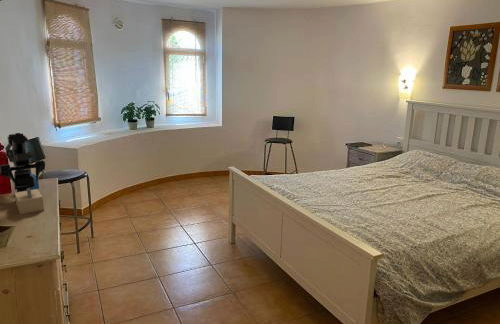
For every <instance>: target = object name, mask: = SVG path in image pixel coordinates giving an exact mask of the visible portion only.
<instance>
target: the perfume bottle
mask: <svg viewBox="0 0 500 324" xmlns="http://www.w3.org/2000/svg"><path fill="white" fill-rule="evenodd" d="M25 170H29V173H30V175H31V176H32V177H33V178H34V186H33V187H31V190H35V189H38V190H39V189H40V187H39V186H40V185H39V180H38V181H37V180H36V174H35V173H33V172H32V168H30V169H25Z"/></svg>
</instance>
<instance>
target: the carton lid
mask: <svg viewBox="0 0 500 324" xmlns="http://www.w3.org/2000/svg"><path fill="white" fill-rule="evenodd" d="M15 195H16V198H17V200H18V202H21V201H26V200H32V199H38V198H43V196H42V195H43V194H41V192H40V190H39V189H35V190H30V188H27V191H22V192H17V191H16V192H14V196H15ZM16 198H15V199H16ZM43 199H44V198H43Z"/></svg>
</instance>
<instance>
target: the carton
mask: <svg viewBox="0 0 500 324" xmlns="http://www.w3.org/2000/svg"><path fill="white" fill-rule="evenodd" d="M14 197H15V204H16V208H17V210H18V213H19V215H20V216H22V215H27V214H28V215H29V214H31V213H38V212H43V211H45V205H44V198H38V199H32V200H26V201H21V202H18V200H17V198H16V195H15V194H14Z"/></svg>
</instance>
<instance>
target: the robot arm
mask: <svg viewBox="0 0 500 324" xmlns="http://www.w3.org/2000/svg"><path fill="white" fill-rule="evenodd" d="M28 141H29V139H28V137H27V136H26V135H24V133H20V132H16V133H12V134H8V136H7V143H8V144H7V145H6V146H5V155H6V154H7V156H8V158H7V159H8V161H9V162H10V163H12V164H13V166H11V165H10V163H7V164H1V165H0V176H3V177H7V178H8V179H9V180H11V182H12V183H13V184H12V185H13V188H14V190H16V192H22V191H27V188H30V190H31V187H33V186H34V178H33V177H32V176H31V175H30V173H29V170H25V169H35V176H36V180H37V181H38V182H39V175H40V173H41V172H43V171H44V170H45V169H46V163H45V161H44V160H43V159H41V160H35V161H34V163H32V164H30V161H31V160H32V159H34V158H33V157H34V156H33V152H32V151H27V150H26V148H27V143H28ZM7 156H6V157H7ZM30 159H31V160H30ZM13 171H14V174H13Z"/></svg>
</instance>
